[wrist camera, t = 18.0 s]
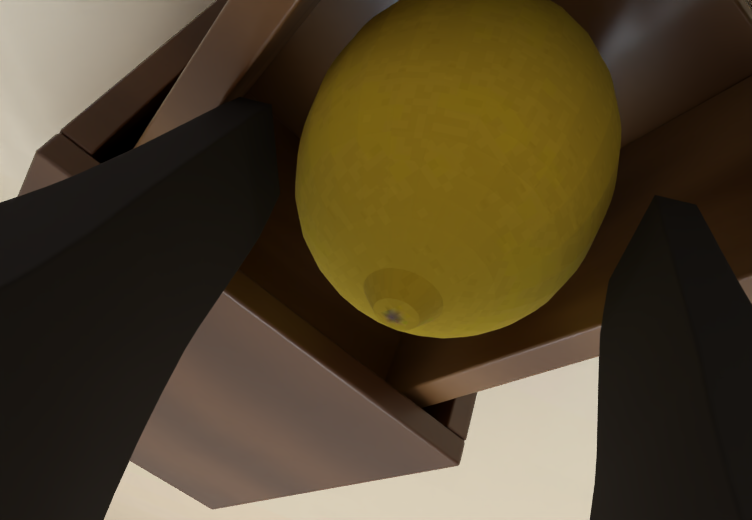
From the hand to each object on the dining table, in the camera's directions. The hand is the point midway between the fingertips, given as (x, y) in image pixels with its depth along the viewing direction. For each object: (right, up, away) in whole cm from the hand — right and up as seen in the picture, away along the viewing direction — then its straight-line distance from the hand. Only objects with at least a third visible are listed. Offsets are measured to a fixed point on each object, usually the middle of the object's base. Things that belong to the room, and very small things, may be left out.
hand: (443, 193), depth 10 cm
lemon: (+2, +4, +3) cm, 5 cm away
